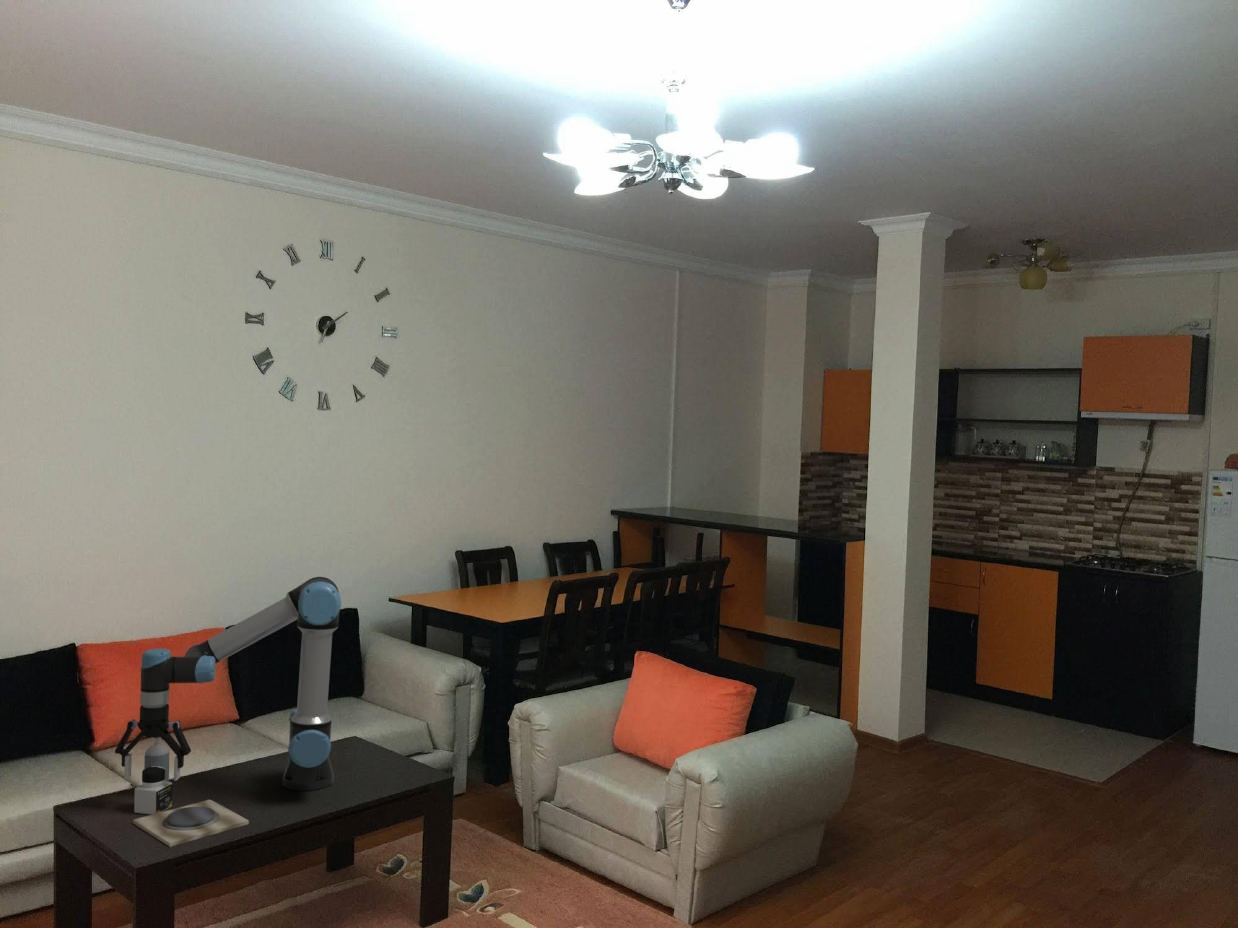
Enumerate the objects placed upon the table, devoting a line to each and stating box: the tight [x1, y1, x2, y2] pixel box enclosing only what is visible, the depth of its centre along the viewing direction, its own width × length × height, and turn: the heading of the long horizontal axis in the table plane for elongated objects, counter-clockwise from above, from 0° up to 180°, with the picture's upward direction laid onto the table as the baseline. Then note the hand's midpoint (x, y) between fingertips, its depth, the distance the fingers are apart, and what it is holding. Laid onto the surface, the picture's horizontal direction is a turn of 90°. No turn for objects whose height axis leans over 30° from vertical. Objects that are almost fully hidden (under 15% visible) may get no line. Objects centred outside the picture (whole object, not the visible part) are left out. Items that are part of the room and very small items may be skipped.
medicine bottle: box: [133, 766, 173, 815], centre depth 292 cm, size 7×7×12 cm
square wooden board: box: [132, 799, 250, 848], centre depth 283 cm, size 22×22×2 cm
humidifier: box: [143, 737, 172, 783], centre depth 305 cm, size 8×8×25 cm
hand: (152, 778), depth 292 cm, fingers open, 13 cm apart
